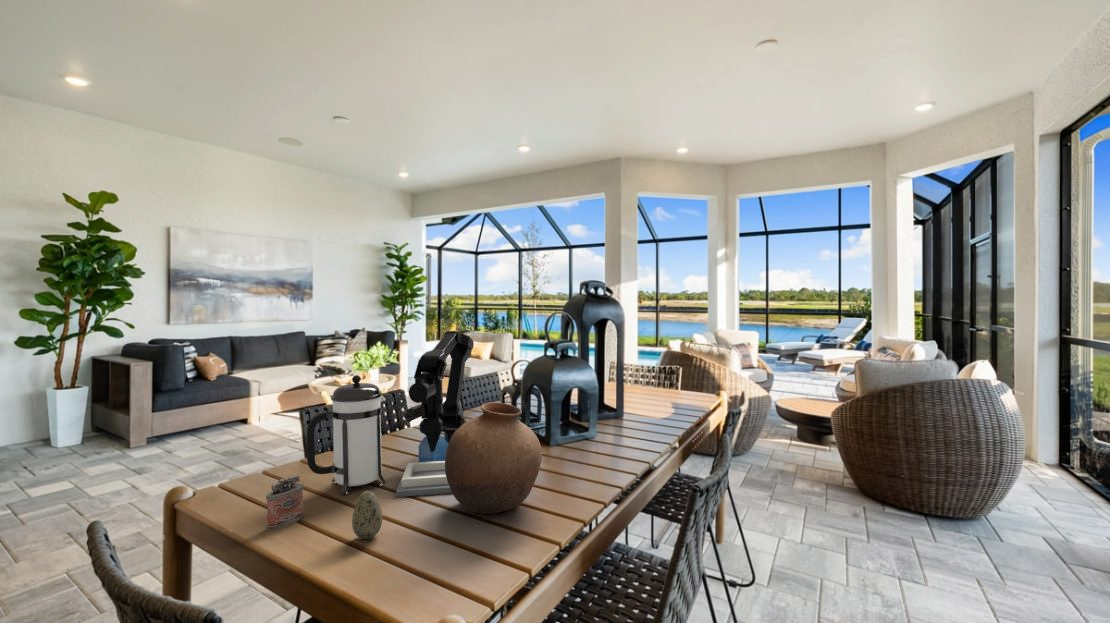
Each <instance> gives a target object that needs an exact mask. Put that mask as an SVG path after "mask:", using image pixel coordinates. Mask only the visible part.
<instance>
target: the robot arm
mask: <svg viewBox="0 0 1110 623" xmlns="http://www.w3.org/2000/svg"><path fill="white" fill-rule="evenodd" d="M473 349H474V340H473V339H472V338H471V336H469V335H467V334H464V333H462V332H461V331H459V330H447V331H445V332H443V336H442V338H440V341H438V343H437V344H436V345H435V346H434V347H433V349H432V350H429V351H426V352H425V353H423V354H422V355H421V356H420V358H419V359H418V361H417V366H416V369H415V371H414V376H413V379H414V383H413V384H411V385H410V387H409V389H408V397H409V399H410V401H412V402H413V403H416V404H417V405H415V406H412V407H411V406H410V407H409V408H406V409H405V410H404V411H403V412H402V413H403V415H404V417H403V418H404V419H405V421H406V423H411V422H412V421H414V420H416V419H418V418H421V419H422V420H421V421H420V422H419V425H418V426H419V427H418V428H419V432H420V433H421V434H423V435H424V436H425V437H427V440H428V444H429V448H430V451H431V452H434V451H435V448H436V445H437V442H438V440H439V437H440V436H441V433H443V437H444V438H445V440H446V441H447V442H448V444H449V441H450V439H451V437H452V435H453V434H454V433H455V431H456V430H457V429H458V428H459V427H461V426H462V425H463V424H464V423H466V422H467V421H468V420H466V417H465V416H464V409H463V407H462V405H461V395H462V389H463V383H464V382H463V381H464V374H465V367H466V366H465V365H466V362H467V360H469V358H470V357H471V356H472V351H473ZM449 356H450V359H451V362H450V370H449V375H448V382H447V383H448V384H447V391H446V397H445V401H444V397H443V379H444V374H445V370H446V369H447V368H446V367H447V365H448V363H447V358H448V357H449ZM420 403H421V404H420Z"/></svg>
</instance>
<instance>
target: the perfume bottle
mask: <svg viewBox="0 0 1110 623" xmlns="http://www.w3.org/2000/svg"><path fill="white" fill-rule="evenodd" d="M447 447H448V442H447V441H446V440H445V438H444V435H440V437H439V440H438V442H437V445H436V448H435V451H434V452H431V451H430V448H429V444H428V440H427V437H426V436H424V437H423V438H422V440H421V441H420V443H419V444H418V462H434V461H445V457H446V452H447Z"/></svg>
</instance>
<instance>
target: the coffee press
mask: <svg viewBox="0 0 1110 623" xmlns="http://www.w3.org/2000/svg"><path fill="white" fill-rule="evenodd" d="M361 380H362V378H361V376H360V375H358V374H357V375H353V376H352V379H351V381H352V382H353V383H349V384H344V385H340V386H338V387H336V389H334V391H333V393H332V395H330V400H331V402H332V409H331V411H329V412H325V411H324V412H321V413H318V414H316V415H314V416H313V417H312V418H311V419H310V421H309V423H308V424H307V428H306V433H305V434H306V437H305V438H306V440H305V441H306V462H307V465H308V468H309V469H310V471H311V472H313V473H315V474H318V475H327V474H334V477H333V479H331V483H332V484H333V482H335V481H336V482H337V484H338V485H340V486H342V487H341V491H340V492H341V495H346V492H349V493H350V490H351V489H352V487H359V486H364V485H367V484H370V483H375V484H376V485H378V486H379V487H383V485H385V484H386V479H385V478H384V477H383V474H382V472H383V471H382V470H383V469H382V468H383V466H382V464H383V463H382V459H383V458H382V426H381V425H382V418H381V416H382V415H381V414H382V404H381V403H382V402H386V397H385V396H383V395H382V394H383V392H382V391H381V390H380V388H379V387H378V386H377V385H375V384H373V383H370V382H369V383H367V382H366V383H365V382H362V383H361ZM327 419H332V423H333V424H332V429H333V433H332V434H333V437H332V438H333V463H332V464H331V465H330V466H318V465H317V464H316V456H315V454H316V453H315V451H316V450H315V449H316V447H315V432H316V430H315V429H316V427H317V425H318V424H319V423H320V422H323V421H324V420H327ZM379 479H380V480H379ZM381 483H382V484H383V485H382V486H380V484H381Z"/></svg>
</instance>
